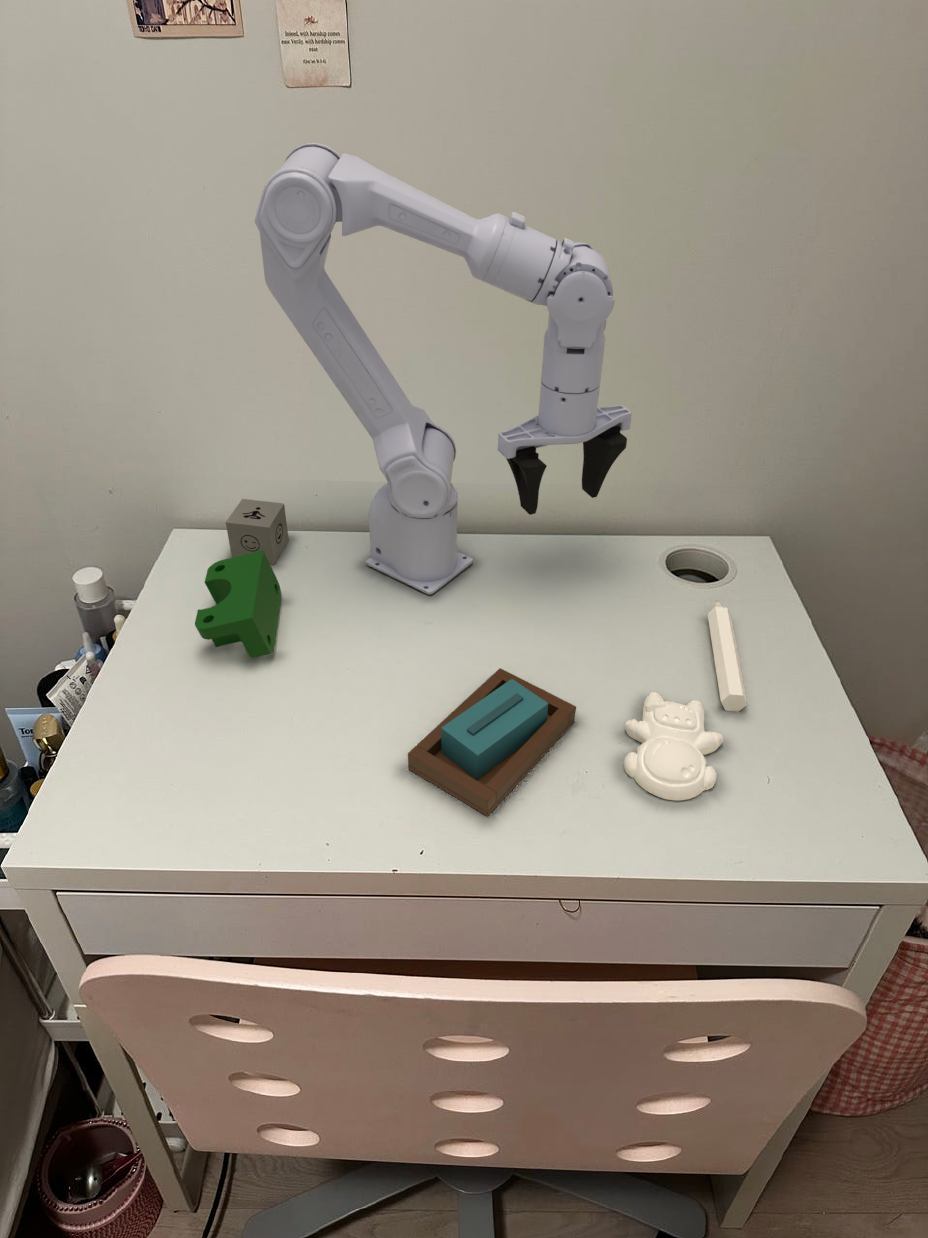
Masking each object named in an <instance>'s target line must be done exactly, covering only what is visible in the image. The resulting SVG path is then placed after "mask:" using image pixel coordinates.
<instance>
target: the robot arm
mask: <svg viewBox="0 0 928 1238" xmlns="http://www.w3.org/2000/svg"><path fill="white" fill-rule="evenodd" d="M338 222H339V223H341V235H342V237H347V236H350V235H353V234H356V233H360V232H362V231H365V230H369V229H372V228H375V227H382V228H386V229H388V230H391V231H394V232H396V233H398V234H402V235H404V236H408V237H409V238H412V239H414V240H417V241H419V242H422V243H425V244H427V245H430V246H433V247H435V248H438V249H441V250H443V251H446V252H449V253H451V254H453V255H456V256H459V257H462V258H463V259H464V261H465V263H466V264H467V266H468V268H469V271H470V275H472V277H473V278H474V279H476V280H479V281H482V282H484V283H486V284H488V285H490V286H492V287H495V288H498V289H499V290H502V291H504V292H506V293H508V294H511V295H513V296H515V297H517V298H520V299H522V300H525V301H526V302H529V303H531V304H533V305H536V306H545V307H547V311H548V320H547V328H546V330H545V332H544V336H543V350H542V363H541V378H540V389H539V401H538V403H539V404H538V415H536V416H534V417H532V418H530V419H528V420H526V421H525V422H523V423H520V424H519V425H517V426H515V427H512V428H511V429H508V430H505V431H502V432H498V434H497V435H498V436H497V451H498V452H499V453H500V454H501V456H503V457H504V458H505V459H506V462H507V464H508V465H509V468H510V470H511V472H512V476H513V478H514V481H515V484H516V489H517V492H518V498H519V504H520V507H521V509H523V510H524V511H525V512H526V513H527V514H528V515H530V516H532V515H535V514H537V510H538V505H539V494H540V487H541V483H542V479H543V476H544V473H545V471H546V469H547V467H548V465H547V464H546V463H545V462H544V461H542V459H540V458H539V455H540V454H539V452H537V449H539V448H544V447H547V446H557V445H558V446H559V445H576V444H582V449H583V452H582V453H583V461H582V462H583V463H582V470H581V471H582V472H581V489H582V491H584V492H585V493H586V495H588V496H589V497H590V498H591V499H595V498H598V495H599V493H600V491H601V488H602V486H603V483H604V481H605V479H606V477H607V475H608V473H609V472H610V470H611V468H612V466H613V464H614V463H615V461H616V460H617V459H618V458H619V456H621V454H622V453H623V452H624V451H625V449H627V444H628V438H627V437H626V436H625V435H624V434H623V433H621V431H622V432H624V431H627V430H630V429H631V424H632V423H631V422H632V415H633V411H631V410H629V409H628V408H627V407H625V406H624V405H622V404H618V405H611V406H610V405H609V406H598V404H599V398H600V397H599V396H600V388H601V379H602V372H603V362H604V353H605V345H606V335H605V330H606V327H607V319H608V318H609V317H610V315H611V313H612V311H613V309H614V306H615V302H616V301H615V298H614V289H613V285H612V279H611V273H610V269H609V265H608V263H607V261H606V260H605V258H604V256H603V255H602V254H601V253H600V252H599V251H598V250H597V249H595V248H593V247H592V246H591V245H590V244H589V242H580V241H579V242H575V241H574V240H571V239H570V238H567V237H564V238H563V239H562V241H561V240H559V239H556V238H554V237H552V236H550V235H548V234H546V233H543V232H541V231H539V230H536V229H534V228H532V227H530V226H527V225H526V216H525V215H522V214H520V213H518V212H516V211H512V212H511V214H510V216H509V217H508V216H505V215H503V214H501V213H499V212H497V213H494V214H492V215H489V216H486V217H484V218H479V219H477V218H474V217H473V216H471V215H469V214H468V213H465V212H463V211H461V210H459V209H457V208H456V207H453V206H451V205H449V204H448V203H445V202H444V201H442V200H440V199H438V198H436V197H433V196H432V195H430V194H428V193H426V192H424V191H422V190H420V189H418V188H417V187H414V186H412V185H411V184H408V183H406V182H404V181H402V180H400V179H398V178H397V177H395V176H393V175H391V174H389V173H387V172H385V171H383V170H381V169H379V168H377V167H375V166H374V165H372V164H371V163H368V162H367V161H365V160H364V159H362V158H360V157H358V156H356V155H354V154H348V153H345V152H342V154H341V155H340V154H339V153H338V152H337V151H336V150H335V149H333V148H332V147H330V146H328V145H326V144H323V143H320V142H319V143H318V142H307V143H304V144H300V145H299V146H296V147H295V148H294V149H293V150H291V151H290V152H289V154H288V155H287V156H286V158H285V160H284V162H283V164H282V165H281V166H280V168H279V169H278V170H277V171H275V172H274V173H273V174H272V175H271V176H270V177H269V179H268V180H267V181H266V183H265V185H264V186H263V188H262V191H261V194H260V199H259V202H258V206H257V208H256V212H255V216H254V224H255V226H256V228H257V230H258V232H259V239H260V247H261V256H262V266H263V275H264V281H265V284H266V286H267V288H268V291H269V292H270V294H271V295H272V296H273V298H274V299H275V301H276V302H277V303H278V305H279V306H280V308H281V309H282V311H283V312H284V314H285V315H286V316H287V318H288V319H289V321H290V322H291V324H292V326H293V327H294V328H295V329H296V331H297V333H298V334H299V335H300V337H301V338H302V340H303V341H304V343H305V344H306V345H307V347H308V348H309V350H310V351H311V353H312V354H313V355H314V357H315V358H316V360H317V362H318V363H319V364H320V366H321V367H322V369H323V370H324V371H325V373H326V374H327V375H328V377H329V379H330V380H331V382H332V383H333V384H334V387H336V389H337V390H338V392H339V393H340V394H341V396H342V397H343V399H344V400H345V402H346V404H347V405H348V406H349V407H350V408H351V410H352V412H353V413H354V415H355V417H357V419H358V420H359V422H360V423H361V425H362V426H363V428H364V429H365V430H366V432H367V434H368V435H369V436H370V438H371V439H372V443H373V446H374V447H373V448H374V452H375V457H376V460H377V465H378V468H379V470H380V472H381V473H382V475H383V476H384V478H385V480H386V482H387V483H385V484H383V485H382V486H381V487H380V488H379V489H378V490H377V491H376V493H375V494H374V496H373V497H372V500H371V502H370V505H369V510H368V530H369V547H370V557H369V558H367V559H366V560H365V561H366V562H365V563H366V566H368V567H371V568H372V569H375V570H376V571H378V572H380V573H382V574H385V575H387V576H389V577H391V578H393V579H395V580H397V581H399V582H402V583H403V584H405V585H408V586H410V587H412V588H414V589H416V590H417V591H420V592H422V593H424V594H426V595H433V594H435V593H436V592H437V591H439V590H440V589H441V588H442V587H444V586H445V585H446V584H447V583H449V582H450V581H452V579H454V578H455V577H456V576H458V575H459V574H460V573H462V572H463V571H464V570H465V569H467V568H468V567H469V566H470V565H472V564H473V563H474V562H473V558H472V557H471V556H468V555H466V554H464V553H462V552H460V551H458V492H457V489H456V487H454V485H453V483H452V476H453V468H454V463H455V460H456V455H457V447H456V443H455V440H454V438H453V437H452V435H451V434H450V433H449V432H448V431H447V429H445V428H443V427H442V426H440V425H438V424H437V423H435V422H434V421H433V420H432V419H431V418H430V417H429V415H428V414H427V412H426V410H424V409H423V408H420V407H418V406H416V405H413V404H412V402H411V401H410V399H409V398H408V397H407V395H406V394H405V391H404V390H403V388H402V387H401V386H400V384H399V382H398V381H397V379H396V378H395V376H394V375H393V373H392V371H391V370H390V369H389V367H388V366H387V364H386V363H385V361H384V359H383V358H382V357H381V355H380V353H379V352H378V351H377V349H376V347H375V345H374V344H373V342H372V341H371V340H370V338H369V336H368V335H367V333H366V332H365V330H364V329H363V327H362V326H361V324H360V322H359V321H358V319H357V318H356V317H355V315H354V313H353V312H352V310H351V309H350V307H349V306H348V303H346V301H345V299H344V297H343V296H342V295H341V293H340V292H339V290H338V288H337V287H336V285H335V284H334V283H333V281H332V279H331V278H330V276H329V274H328V273H327V271H326V270H325V264H326V260H327V255H328V252H329V248H330V243H331V238H332V231H333V230H334V228H335V225H336V223H338Z"/></svg>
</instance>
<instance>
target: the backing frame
mask: <svg viewBox="0 0 928 1238" xmlns="http://www.w3.org/2000/svg"><path fill="white" fill-rule="evenodd" d="M511 679H513V680H514V681H516V682H517V683H519V684H520V685H522V686H523V687H525V688H526V689H528V690H529V691H531V692H532V693H534V694H535V695H537V696H538V697H540V698H541V699H543V700H544V701H546V702H547V703H548V712H547V721H546V722H545V723H544V724H543V725H542V726H541V727H540V728H539V729H538V731H537V732H536V733H535V734H534V735H533V736H532V737H531V738H530V739H529V740H528V741H527V742H526V743H525V744H524V745H523V746H522V747H520V748H519V749H518V750H516V751H515V752H514V753H512V754H511V755H510V756H508V757H507V758H506V759H504V760H503V761H502V762H500V763H499V764H498V765H496V766H495V767H494V768H493V769H491V770H490V771H489V772H487V773H486V774H485V775H483V776H482V777H481V778H479V779H478V780H476V779H475V778H473V777H472V776H471V775H469V774H468V773H467V772H466V771H464V770H463V769H462V768H460V767H459V766H458V765H457V764H455V763H454V762H453V761H451V760H450V759H449V758H448V757H446V756H445V755H444V754H442V753H441V728H442V727H443V726H444V725H446V724H447V723H449V722H450V721H452V720H453V719H454V718H456V717H457V716H459V715H460V714H462V713H463V712H465V711H466V710H467V709H469V708H470V707H472V706H473V705H475V704H476V703H478V702H479V701H480V700H482V699H483V698H485V697H486V696H488V695H489V694H491V693H492V692H493V691H495V690H496V689H498V688H499V687H501V686H502V685H504V684H505V683H506V682H508V681H509V680H511ZM576 712H577V706H576V705H574V704H572V703H570V702H568V701H567V700H565V699H562V698H561V697H558V696H556V695H555V694H552V693H550V692H548V691H546V690H544V689H543V688H540V687H539V686H537V685H535V684H532V683H531V682H529V681H527V680H525V679H524V678H523V679H522V678H521V677H519V676H517V675H514V674H513V673H511V672H510V671H507V670H505V669H503V668H498V669H497V670H496V671H495V672H493V674H491V676H489V677H488V678H487V679H486V680H485V681H484V682H483V683H481V685H480V686H479V687H477V688H476V690H474V691H473V692H472V693H471V694H470V695H468V697H467V698H465V700H463V702H462V703H460V704H459V705H458V706H457V707H456V708H455V709H454V710H453V711H452V712H450V713H449V714H448V715H447V716H446V717H445V718H444V719H443V720H442V721H441V722H440V723H438V724H437V726H435V727H434V728H433V729H432V730H431V731H430V732H429V733H428V734H427V735H426V736H424V738H423V739H422V740H420V741H419V742H418V743H417V744H416V745H415V746H414V747H412V749H411V750H410V751H409V752H407V764H408V766H407V770H409V771H411V772H412V773H414V774H415V775H417V776H419V777H421V778H422V779H424V780H425V781H427V782H429V783H430V784H432V785H434V786H436V787H437V788H439V789H440V790H442V791H444V792H446V794H449V795H450V796H452V797H454V798H456V799H457V800H459V801H460V802H462V803H464V804H466V806H469V807H471V808H472V809H474V810H476V811H477V812H479V813H481V814H482V815H484V816H485V817H489V815H491V814H492V812H493V811H495V809H496V808H497V807H498V806H499V805H500V804H501V802H502V801H504V800H505V798H506V797H507V796H508V795H509V794H510V793H511V792H512V790H514V789H515V787H516V786H517V785H518V784H519V783H520V782H521V781H522V780H523V778H525V776H527V775H528V773H529V772H530V771H531V770H532V769H533V768H534V767H535V766H536V765H537V764H538V762H539V761H540V760H542V758H543V757H544V756H545V755H546V754H547V752H548V751H549V750H550V749H551V748H553V746H554V745H555V744H556V743H557V742H558V741H559V740H560V739H561V738H562V736H563V735H564V734H565V733H566V732H567V731H568V730H569V729H570V728H571V727H572V726H573V724H575V721H576Z"/></svg>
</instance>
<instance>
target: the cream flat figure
mask: <svg viewBox="0 0 928 1238" xmlns="http://www.w3.org/2000/svg"><path fill="white" fill-rule="evenodd" d="M705 715H706V714H705V709H704V706H703V704H702V702H701V701H700V700H697V699H693V700H690V701H689V702H688V703H687V704H683V703H679V702H674V701H666V700H665V699H664V698H663V697H662V696H661V694H659V693H658V692H657V691H652V692H650V693H648V694H647V696H646V698H645V699H644V703H643V708H642V716H641V720H639V721H638V720H637V719H635V718H632V719H628V720H626V722H625V723H624V728H625V732H626V734H627V736H629V738H632V739H633V740H635V741H637V742H639V743H641V744H639V746H638V747H637V748H636V752H634V751H631V752H628V753H627V754H626V756H625V757H624V760H623V768H624V771H625V773H626V774H627V775H628V776H629V777H631V778H633V779H634V780H635V782H636V784H638V785H639V786H640V787H641V788H642V789H643V790H645V791H646V792H647V793H649V794H651V795H653V796H655V797H658V798H660V799H663V800H668V801H687V800H691V799H694V798H695V797H698V796H699V795H701V794H702V793H703V791H708V790H710V789H712V788H713V787H714V785H715V784H716V782H717V772H716V770H715V768H714V767H713V766H712V765H708V766H707V759H706V757H705V755H708V754H712V753H714V752H715V751H716V750H718V749H719V747H720V746H721V745H722V744H723V743H724V736H723V735H722V734H721V733H719V732H716V731H706V730H705V719H706V718H705Z"/></svg>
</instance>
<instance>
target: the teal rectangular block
mask: <svg viewBox="0 0 928 1238" xmlns="http://www.w3.org/2000/svg"><path fill="white" fill-rule="evenodd" d="M547 712H548V703H547V702H546V701H544V700H543V699H541V698H540V697H538V696H537V695H535V694H534V693H532V692H531V691H529V690H528V689H526V688H525V687H523V686H522V685H520V684H519V683H517V682H516V681H514V680H513V679H511V680H509V681H508V682H506V683H505V684H504V685H502V686H501V687H499V688H498V689H496V690H495V691H493V692H492V693H491V694H489V695H488V696H486V697H485V698H483V699H482V700H480V701H479V702H478V703H476V704H475V705H473V706H472V707H470V708H469V709H467V710H466V711H465V712H463V713H462V714H460V715H459V716H457V717H456V718H454V719H453V720H452V721H450V722H449V723H447V724H446V725H444V726H443V727H442V728H441V753H442V754H444V755H445V756H446V757H448V758H449V759H450V760H451V761H453V762H454V763H455V764H457V765H458V766H459V767H460V768H462V769H463V770H464V771H466V772H467V773H468V774H469V775H471V776H472V777H473V778H475V779H476V780H478V779H479V778H481V777H482V776H483V775H485V774H486V773H487V772H489V771H490V770H491V769H493V768H494V767H495V766H496V765H498V764H499V763H500V762H502V761H503V760H504V759H506V758H507V757H508V756H510V755H511V754H512V753H514V752H515V751H516V750H518V749H519V748H520V747H522V746H523V745H524V744H525V743H526V742H527V741H528V740H529V739H530V738H531V737H532V736H533V735H534V734H535V733H536V732H537V731H538V729H539V728H540V727H541V726H542V725H543V724H544V723H545V722H546V721H547Z"/></svg>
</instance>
